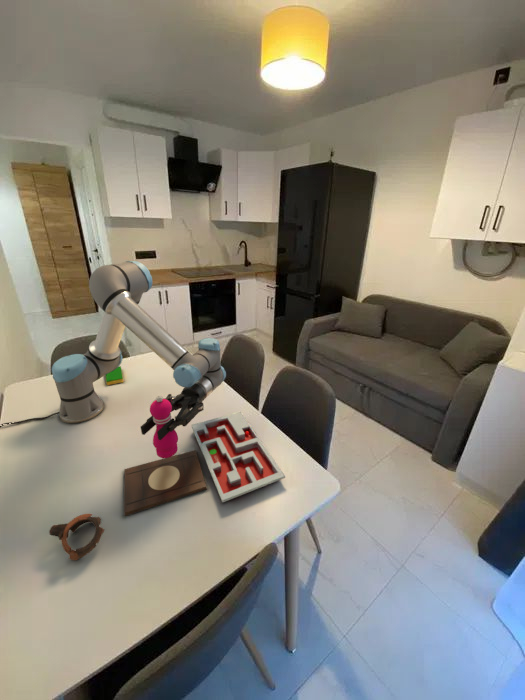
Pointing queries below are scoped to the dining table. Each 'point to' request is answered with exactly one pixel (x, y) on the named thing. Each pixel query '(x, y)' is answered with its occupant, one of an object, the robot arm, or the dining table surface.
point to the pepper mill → (161, 416)
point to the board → (162, 481)
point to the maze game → (235, 456)
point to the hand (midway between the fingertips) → (150, 433)
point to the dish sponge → (114, 376)
